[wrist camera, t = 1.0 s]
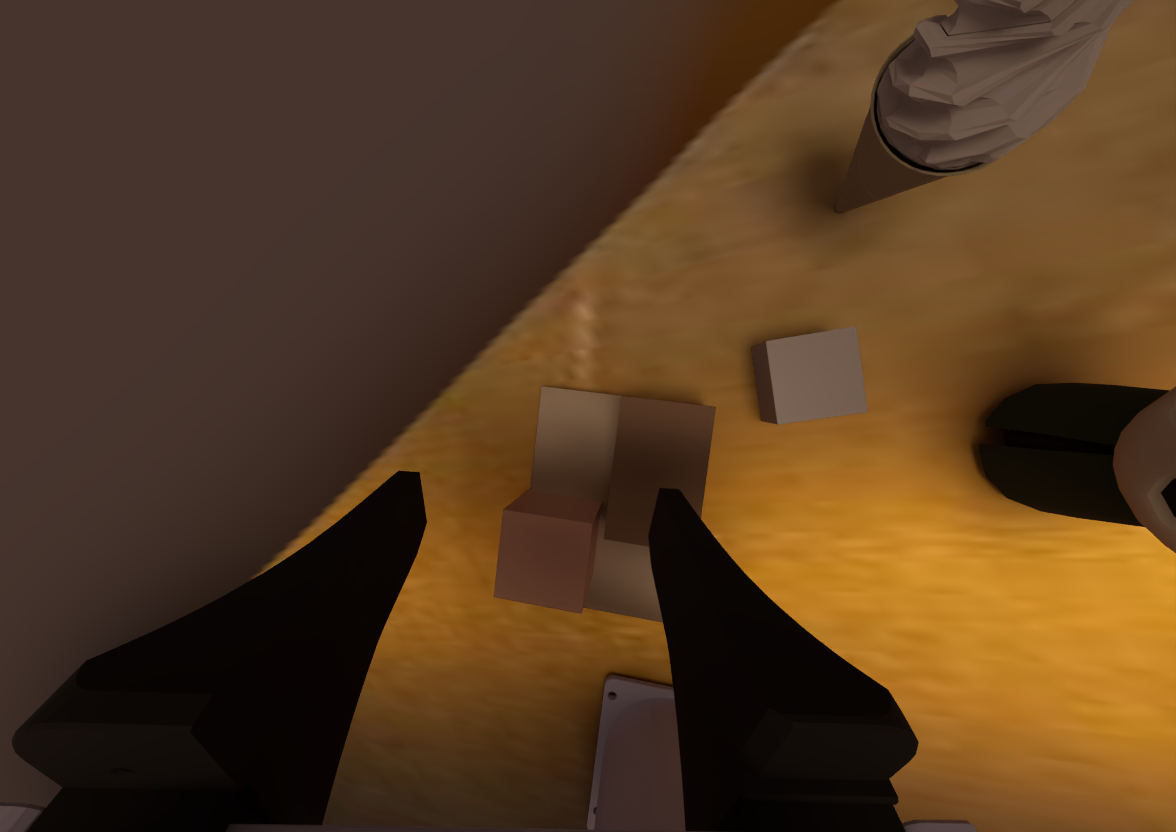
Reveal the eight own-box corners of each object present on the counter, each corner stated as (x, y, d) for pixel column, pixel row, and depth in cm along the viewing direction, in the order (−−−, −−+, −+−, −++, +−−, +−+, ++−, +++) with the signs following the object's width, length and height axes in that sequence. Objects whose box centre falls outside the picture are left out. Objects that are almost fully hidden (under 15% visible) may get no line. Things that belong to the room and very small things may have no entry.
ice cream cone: (781, 252, 22) (1054, -45, 7) (799, 154, 22) (1121, -359, 7) (882, 263, 22) (1402, -36, 7) (902, 163, 21) (1495, -382, 6)
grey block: (838, 410, 22) (867, 412, 19) (760, 420, 23) (777, 424, 20) (827, 335, 22) (855, 326, 19) (750, 348, 23) (765, 341, 20)
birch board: (676, 615, 24) (677, 625, 23) (523, 587, 25) (518, 595, 24) (704, 405, 23) (707, 405, 22) (546, 386, 24) (541, 386, 23)
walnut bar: (689, 535, 22) (695, 554, 20) (608, 522, 23) (603, 539, 20) (707, 405, 22) (715, 406, 19) (623, 396, 23) (621, 395, 20)
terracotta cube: (592, 575, 23) (581, 613, 19) (520, 562, 24) (493, 597, 20) (601, 501, 23) (592, 523, 19) (528, 490, 24) (503, 509, 19)
